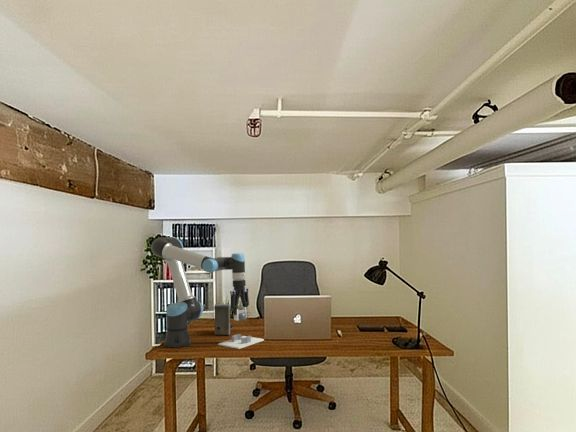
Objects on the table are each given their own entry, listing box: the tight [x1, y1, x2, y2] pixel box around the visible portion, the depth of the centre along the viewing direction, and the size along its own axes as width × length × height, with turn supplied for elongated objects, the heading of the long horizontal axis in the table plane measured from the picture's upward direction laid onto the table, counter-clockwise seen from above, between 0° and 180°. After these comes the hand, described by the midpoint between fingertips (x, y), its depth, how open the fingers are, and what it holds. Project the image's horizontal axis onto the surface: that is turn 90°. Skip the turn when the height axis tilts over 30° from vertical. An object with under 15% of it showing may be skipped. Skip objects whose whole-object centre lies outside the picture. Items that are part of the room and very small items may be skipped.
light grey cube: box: [234, 309, 247, 322], centre depth 254 cm, size 6×6×6 cm
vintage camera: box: [213, 303, 234, 336], centre depth 279 cm, size 10×16×20 cm, turn 174°
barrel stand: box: [217, 333, 265, 350], centre depth 252 cm, size 22×16×4 cm
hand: (240, 319), depth 254 cm, fingers closed on light grey cube, 6 cm apart
